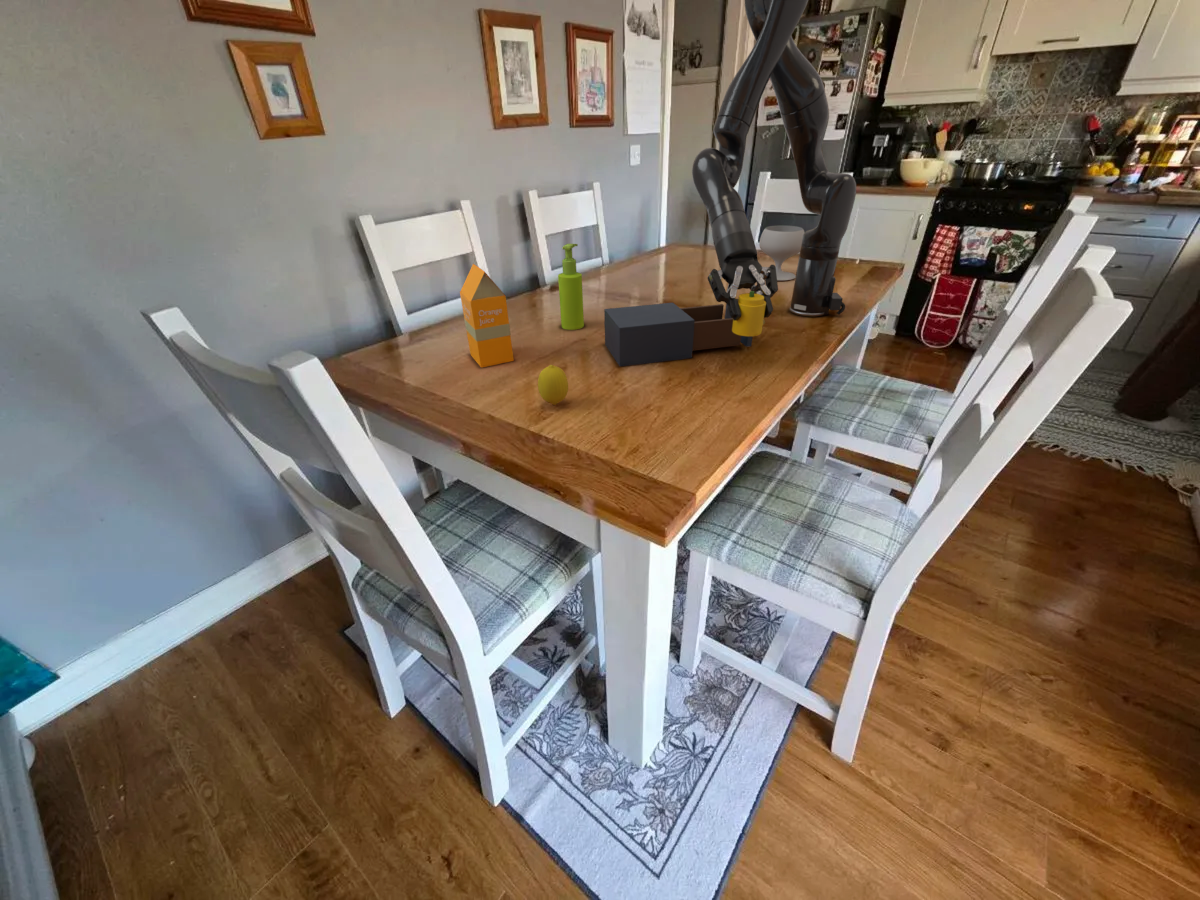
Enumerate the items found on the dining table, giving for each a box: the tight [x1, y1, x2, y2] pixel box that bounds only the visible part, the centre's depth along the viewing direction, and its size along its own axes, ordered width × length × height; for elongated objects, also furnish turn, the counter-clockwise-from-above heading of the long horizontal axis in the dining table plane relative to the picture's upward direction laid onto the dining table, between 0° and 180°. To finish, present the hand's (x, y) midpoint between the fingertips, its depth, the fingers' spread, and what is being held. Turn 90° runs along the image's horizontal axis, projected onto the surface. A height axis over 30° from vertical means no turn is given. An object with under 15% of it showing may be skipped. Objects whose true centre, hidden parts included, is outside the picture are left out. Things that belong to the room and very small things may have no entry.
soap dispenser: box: [557, 243, 585, 331], centre depth 129 cm, size 6×7×20 cm
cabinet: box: [603, 302, 695, 367], centre depth 115 cm, size 17×14×9 cm
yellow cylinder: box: [732, 290, 766, 337], centre depth 101 cm, size 6×6×8 cm
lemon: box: [537, 364, 569, 406], centre depth 94 cm, size 6×6×8 cm
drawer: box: [679, 303, 766, 352], centre depth 118 cm, size 20×12×7 cm, turn 103°
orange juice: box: [459, 263, 514, 368], centre depth 111 cm, size 8×9×20 cm
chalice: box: [758, 225, 805, 281], centre depth 167 cm, size 14×14×15 cm
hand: (753, 317), depth 100 cm, fingers closed on yellow cylinder, 6 cm apart
